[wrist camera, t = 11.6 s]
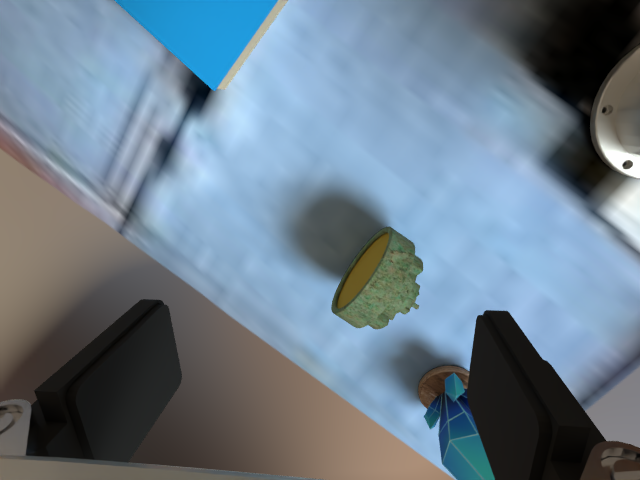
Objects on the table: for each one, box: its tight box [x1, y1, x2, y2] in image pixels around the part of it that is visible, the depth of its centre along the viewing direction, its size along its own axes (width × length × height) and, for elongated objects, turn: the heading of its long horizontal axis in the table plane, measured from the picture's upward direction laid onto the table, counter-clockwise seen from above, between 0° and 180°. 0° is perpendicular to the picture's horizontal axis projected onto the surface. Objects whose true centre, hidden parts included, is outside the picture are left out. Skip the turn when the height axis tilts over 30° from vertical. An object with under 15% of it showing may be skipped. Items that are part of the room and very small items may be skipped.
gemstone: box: [418, 366, 495, 480], centre depth 39 cm, size 7×9×12 cm
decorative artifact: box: [332, 227, 423, 329], centre depth 36 cm, size 10×7×10 cm
